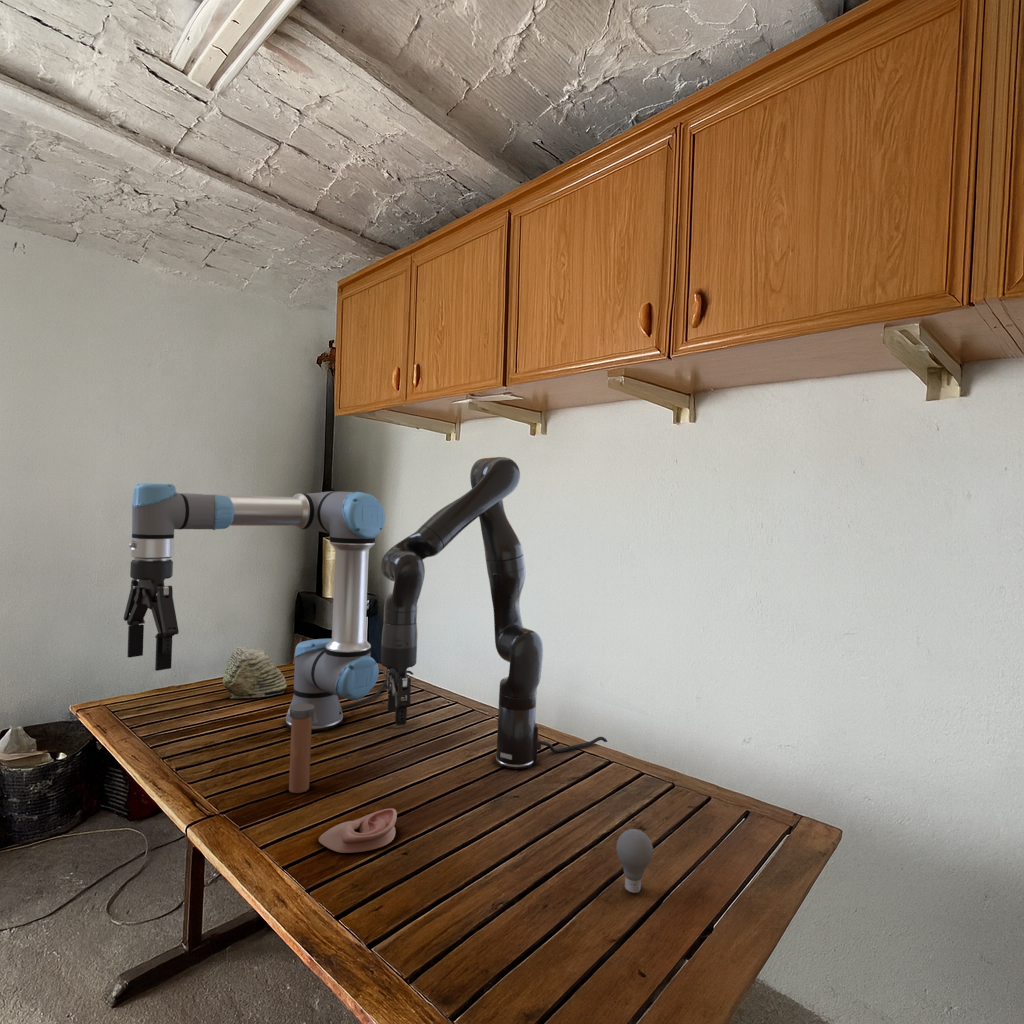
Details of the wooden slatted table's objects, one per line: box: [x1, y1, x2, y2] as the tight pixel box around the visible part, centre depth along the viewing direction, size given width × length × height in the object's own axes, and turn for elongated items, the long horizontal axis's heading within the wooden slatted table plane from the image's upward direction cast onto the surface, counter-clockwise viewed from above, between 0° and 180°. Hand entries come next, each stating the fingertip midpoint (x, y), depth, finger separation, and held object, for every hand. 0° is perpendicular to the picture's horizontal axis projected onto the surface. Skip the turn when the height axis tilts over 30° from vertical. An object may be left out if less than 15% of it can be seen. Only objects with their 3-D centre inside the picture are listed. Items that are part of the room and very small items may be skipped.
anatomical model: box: [318, 807, 398, 854], centre depth 118 cm, size 13×4×12 cm
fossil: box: [222, 646, 288, 699], centre depth 198 cm, size 9×18×15 cm, turn 132°
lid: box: [289, 703, 314, 719], centre depth 137 cm, size 5×5×2 cm
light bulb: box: [615, 828, 654, 894], centre depth 106 cm, size 6×6×10 cm
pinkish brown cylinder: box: [288, 716, 312, 794], centre depth 137 cm, size 4×4×17 cm
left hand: (148, 662), depth 129 cm, fingers open, 13 cm apart
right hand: (396, 717), depth 136 cm, fingers open, 8 cm apart
